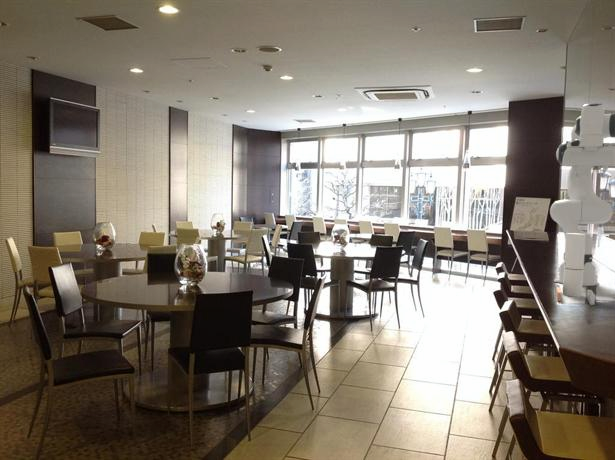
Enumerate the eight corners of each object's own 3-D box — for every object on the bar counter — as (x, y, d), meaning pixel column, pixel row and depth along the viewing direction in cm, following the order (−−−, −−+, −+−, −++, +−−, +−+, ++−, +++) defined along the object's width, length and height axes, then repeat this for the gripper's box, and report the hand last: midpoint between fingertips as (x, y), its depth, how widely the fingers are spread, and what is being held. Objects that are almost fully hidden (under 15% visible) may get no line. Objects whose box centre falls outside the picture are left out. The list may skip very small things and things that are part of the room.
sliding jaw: (555, 292, 222) (555, 284, 222) (558, 292, 221) (559, 285, 221) (557, 300, 203) (557, 292, 202) (561, 301, 202) (561, 292, 202)
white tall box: (577, 293, 222) (581, 233, 220) (584, 296, 215) (588, 234, 213) (559, 293, 222) (563, 232, 221) (566, 296, 215) (569, 233, 214)
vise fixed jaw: (586, 298, 211) (587, 289, 211) (590, 298, 211) (591, 290, 210) (590, 304, 198) (590, 295, 198) (594, 305, 198) (595, 295, 198)
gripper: (619, 143, 217) (616, 177, 218) (563, 144, 225) (561, 177, 226) (621, 141, 211) (619, 177, 212) (563, 142, 219) (562, 176, 220)
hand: (588, 177), depth 219 cm, fingers open, 8 cm apart
